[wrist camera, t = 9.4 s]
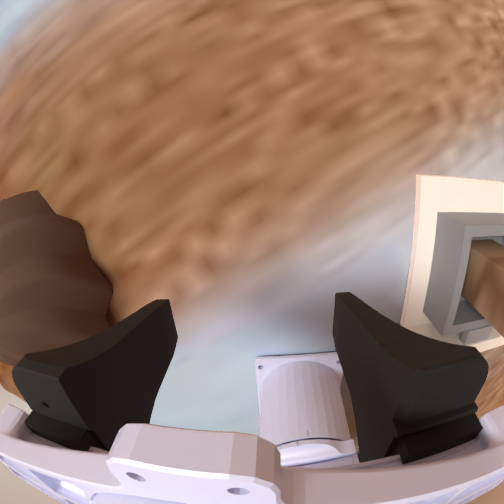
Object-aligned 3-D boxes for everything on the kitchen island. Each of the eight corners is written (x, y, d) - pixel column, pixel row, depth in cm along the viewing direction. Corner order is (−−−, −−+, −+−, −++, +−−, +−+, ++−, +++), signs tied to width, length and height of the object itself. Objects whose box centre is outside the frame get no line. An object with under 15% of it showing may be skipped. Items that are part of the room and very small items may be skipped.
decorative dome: (-24, 200, 21) (-85, 226, 12) (98, 181, 20) (7, 210, 11) (16, 342, 28) (-25, 385, 18) (136, 372, 27) (100, 445, 17)
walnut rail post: (483, 281, 19) (536, 328, 12) (451, 286, 20) (505, 339, 12) (491, 239, 18) (553, 276, 11) (459, 240, 18) (524, 283, 11)
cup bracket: (488, 316, 22) (513, 341, 18) (397, 334, 23) (417, 369, 18) (513, 183, 18) (549, 194, 13) (416, 174, 18) (452, 183, 14)
